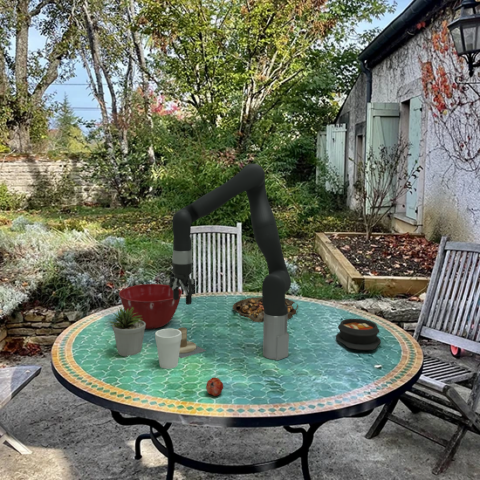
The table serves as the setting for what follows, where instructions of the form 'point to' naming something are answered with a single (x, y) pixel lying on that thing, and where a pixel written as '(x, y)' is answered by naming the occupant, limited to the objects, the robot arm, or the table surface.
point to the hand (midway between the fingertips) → (182, 301)
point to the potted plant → (128, 333)
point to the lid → (186, 343)
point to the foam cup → (168, 347)
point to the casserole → (358, 334)
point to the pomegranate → (214, 386)
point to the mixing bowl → (150, 303)
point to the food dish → (258, 308)
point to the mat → (197, 350)
